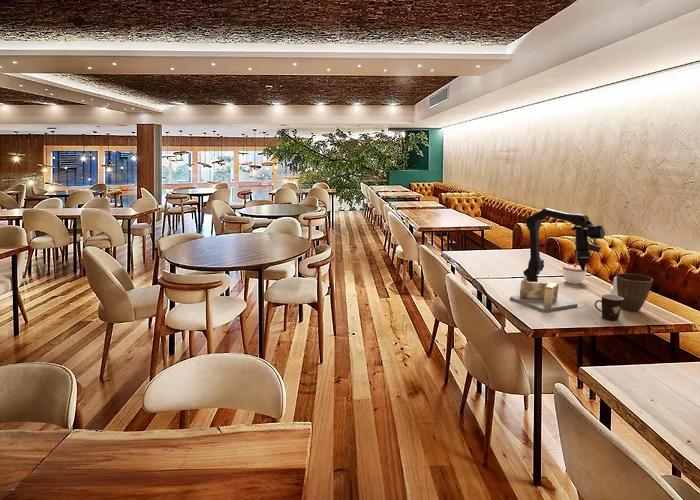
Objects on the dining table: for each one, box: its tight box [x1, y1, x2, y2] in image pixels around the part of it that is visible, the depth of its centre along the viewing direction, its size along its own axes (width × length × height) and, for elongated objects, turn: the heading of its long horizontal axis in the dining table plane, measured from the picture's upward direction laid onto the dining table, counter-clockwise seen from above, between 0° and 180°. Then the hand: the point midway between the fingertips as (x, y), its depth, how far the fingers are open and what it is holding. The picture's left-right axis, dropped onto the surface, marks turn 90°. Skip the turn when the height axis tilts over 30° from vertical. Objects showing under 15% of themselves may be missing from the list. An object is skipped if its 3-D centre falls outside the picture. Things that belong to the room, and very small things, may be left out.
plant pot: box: [615, 273, 654, 313], centre depth 224 cm, size 15×15×16 cm
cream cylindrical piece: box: [609, 276, 618, 296], centre depth 240 cm, size 9×9×12 cm
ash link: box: [519, 279, 560, 299], centre depth 237 cm, size 18×4×8 cm, turn 85°
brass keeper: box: [543, 282, 557, 307], centre depth 227 cm, size 3×8×11 cm, turn 141°
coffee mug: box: [594, 294, 624, 322], centre depth 212 cm, size 12×9×10 cm
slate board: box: [509, 294, 579, 313], centre depth 234 cm, size 22×22×2 cm
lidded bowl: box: [562, 263, 588, 285], centre depth 274 cm, size 13×13×11 cm
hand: (582, 268), depth 244 cm, fingers open, 9 cm apart
